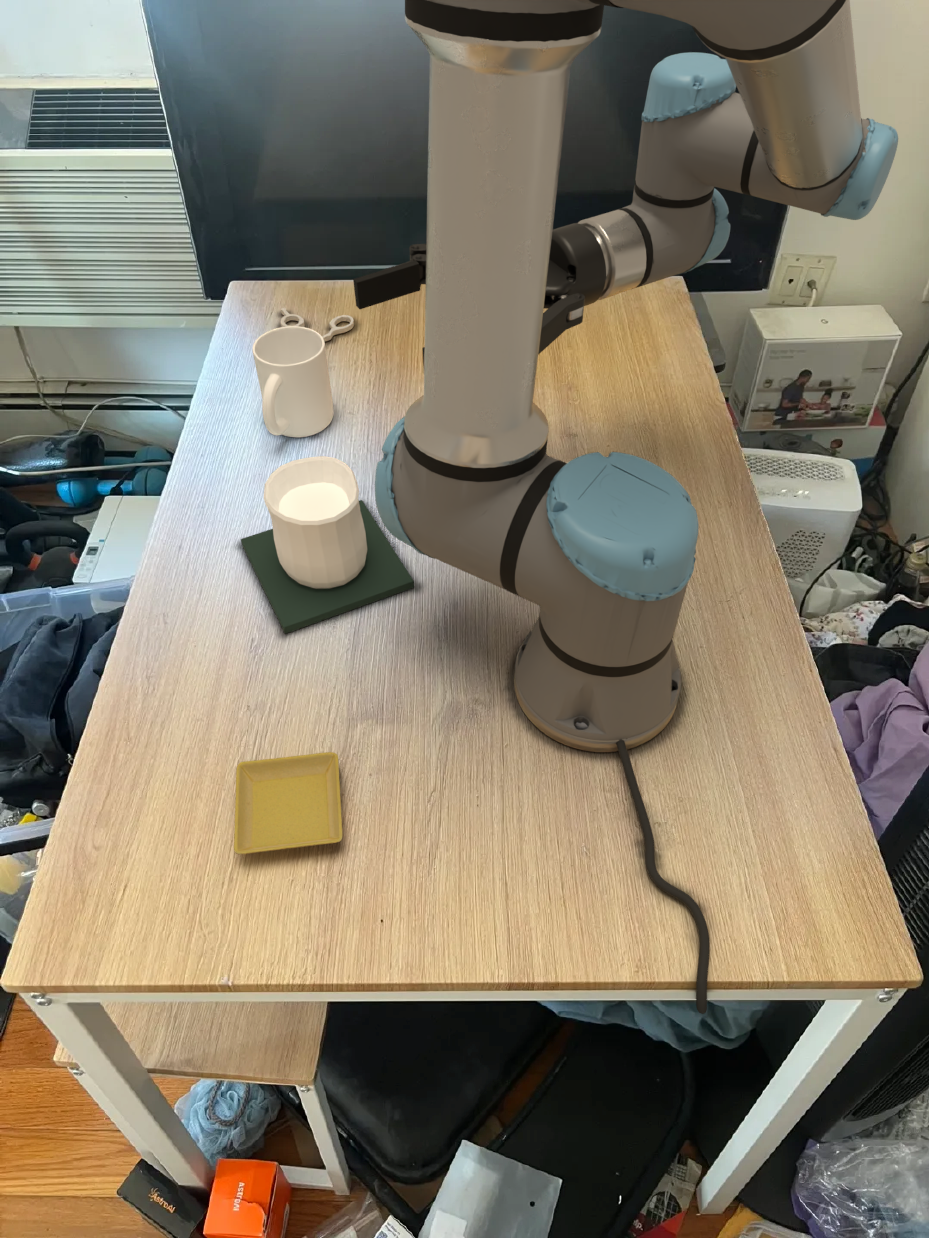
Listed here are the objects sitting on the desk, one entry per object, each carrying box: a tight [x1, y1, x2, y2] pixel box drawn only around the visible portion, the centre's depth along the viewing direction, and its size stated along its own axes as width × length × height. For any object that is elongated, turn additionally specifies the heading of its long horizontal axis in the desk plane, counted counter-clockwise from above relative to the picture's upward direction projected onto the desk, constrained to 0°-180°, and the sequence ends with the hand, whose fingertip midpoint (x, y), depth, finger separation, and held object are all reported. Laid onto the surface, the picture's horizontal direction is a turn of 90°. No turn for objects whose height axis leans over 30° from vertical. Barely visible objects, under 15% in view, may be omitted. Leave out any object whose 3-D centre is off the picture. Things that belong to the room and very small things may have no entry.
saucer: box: [233, 751, 344, 855], centre depth 76 cm, size 9×9×2 cm
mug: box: [251, 325, 335, 438], centre depth 108 cm, size 12×8×10 cm
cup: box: [263, 455, 367, 589], centre depth 91 cm, size 10×10×10 cm
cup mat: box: [240, 499, 415, 634], centre depth 95 cm, size 14×14×1 cm
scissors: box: [280, 307, 355, 342], centre depth 122 cm, size 11×1×20 cm
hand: (388, 327), depth 81 cm, fingers open, 12 cm apart
